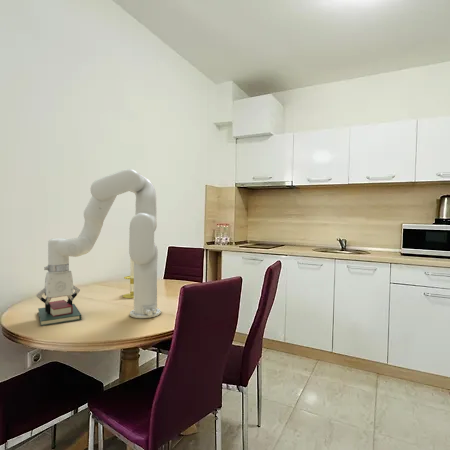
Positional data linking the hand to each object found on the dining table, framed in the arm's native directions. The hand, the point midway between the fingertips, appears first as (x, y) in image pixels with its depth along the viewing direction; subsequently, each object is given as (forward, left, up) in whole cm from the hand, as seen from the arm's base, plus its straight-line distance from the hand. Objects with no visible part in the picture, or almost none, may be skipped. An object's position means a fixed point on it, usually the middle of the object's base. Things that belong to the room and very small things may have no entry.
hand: (59, 311), depth 133 cm
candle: (+19, -36, -2) cm, 41 cm away
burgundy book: (0, 0, 0) cm, 0 cm away
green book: (0, 0, -2) cm, 2 cm away
